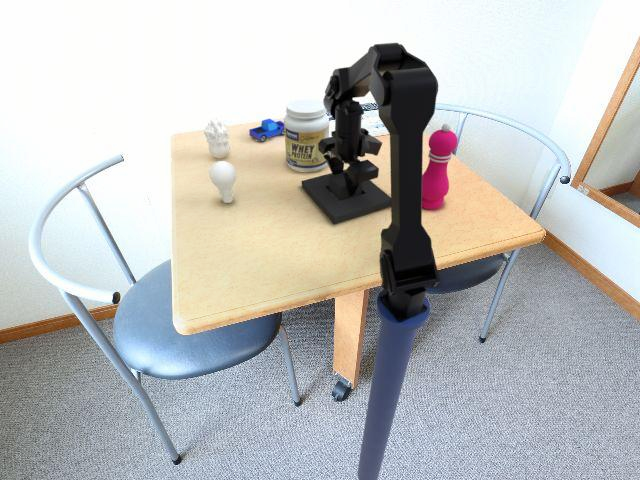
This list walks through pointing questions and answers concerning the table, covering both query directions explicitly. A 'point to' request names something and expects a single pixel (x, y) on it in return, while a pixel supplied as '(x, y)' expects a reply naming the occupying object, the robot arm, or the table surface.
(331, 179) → the small pad
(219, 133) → the figurine
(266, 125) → the toy car
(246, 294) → the table surface
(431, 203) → the pepper mill
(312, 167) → the supplement tub
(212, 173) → the lightbulb
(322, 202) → the socket pad
